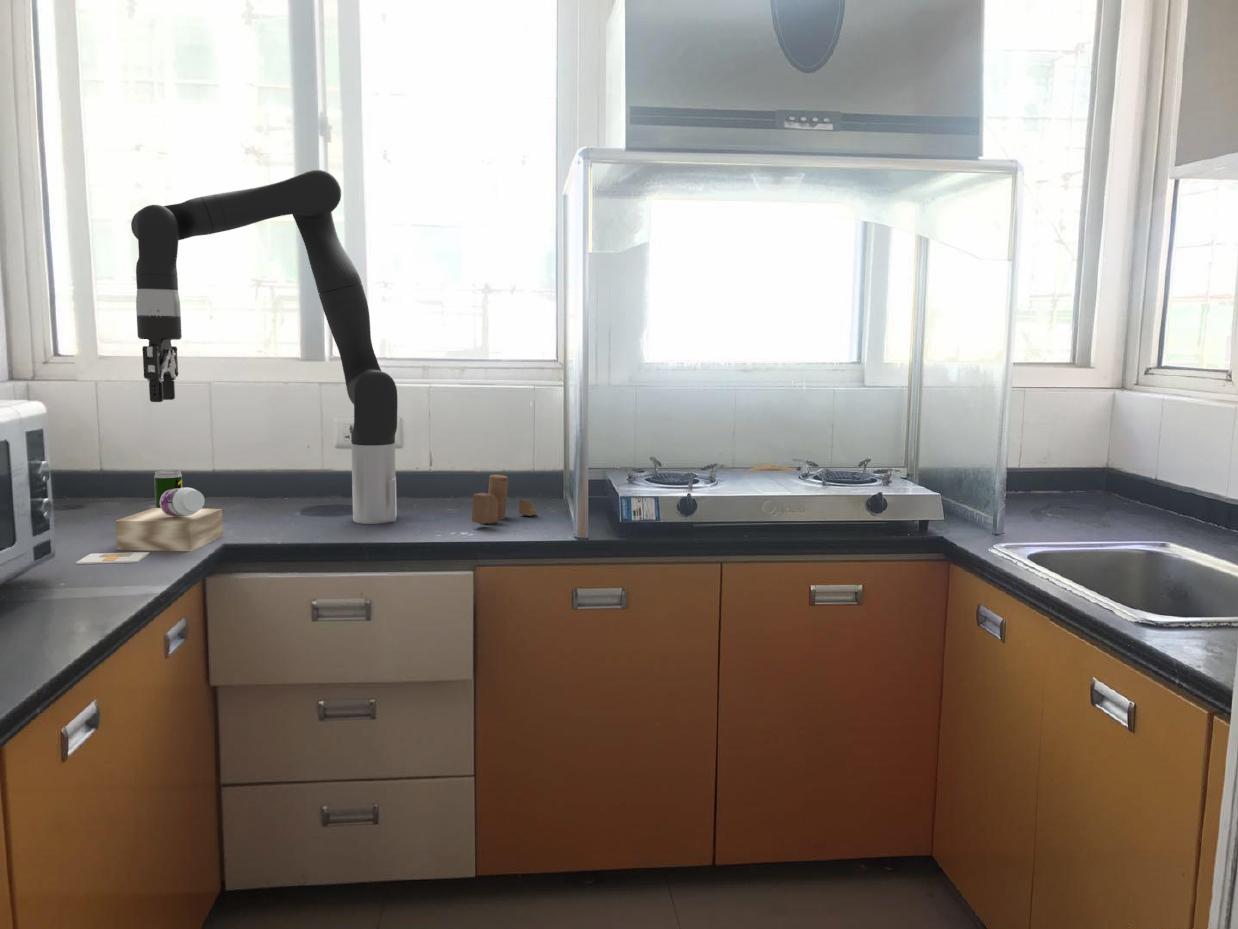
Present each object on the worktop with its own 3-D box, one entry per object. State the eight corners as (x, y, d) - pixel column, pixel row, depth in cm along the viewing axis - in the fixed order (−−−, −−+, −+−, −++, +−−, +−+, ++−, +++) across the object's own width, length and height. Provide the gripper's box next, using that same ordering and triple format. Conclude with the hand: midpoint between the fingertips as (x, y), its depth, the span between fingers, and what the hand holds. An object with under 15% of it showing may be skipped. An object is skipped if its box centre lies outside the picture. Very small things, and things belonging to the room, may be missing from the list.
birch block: (223, 537, 187) (222, 508, 187) (191, 553, 173) (189, 521, 173) (154, 536, 187) (153, 508, 187) (117, 552, 174) (115, 520, 173)
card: (149, 553, 171) (149, 551, 171) (137, 562, 164) (137, 560, 164) (90, 555, 169) (90, 553, 169) (76, 564, 162) (76, 561, 162)
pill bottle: (174, 483, 178) (195, 480, 172) (192, 503, 181) (214, 501, 174) (152, 501, 175) (173, 499, 169) (171, 522, 178) (192, 520, 171)
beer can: (158, 531, 191) (155, 473, 190) (154, 526, 196) (152, 470, 194) (186, 528, 194) (183, 472, 193) (182, 524, 199) (180, 469, 197)
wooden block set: (488, 533, 194) (492, 485, 193) (456, 525, 198) (459, 479, 197) (536, 521, 210) (540, 477, 209) (505, 515, 214) (509, 471, 213)
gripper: (169, 313, 168) (173, 403, 170) (189, 315, 182) (193, 398, 184) (124, 312, 167) (129, 403, 169) (148, 315, 181) (153, 398, 183)
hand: (162, 400), depth 177 cm, fingers open, 7 cm apart
